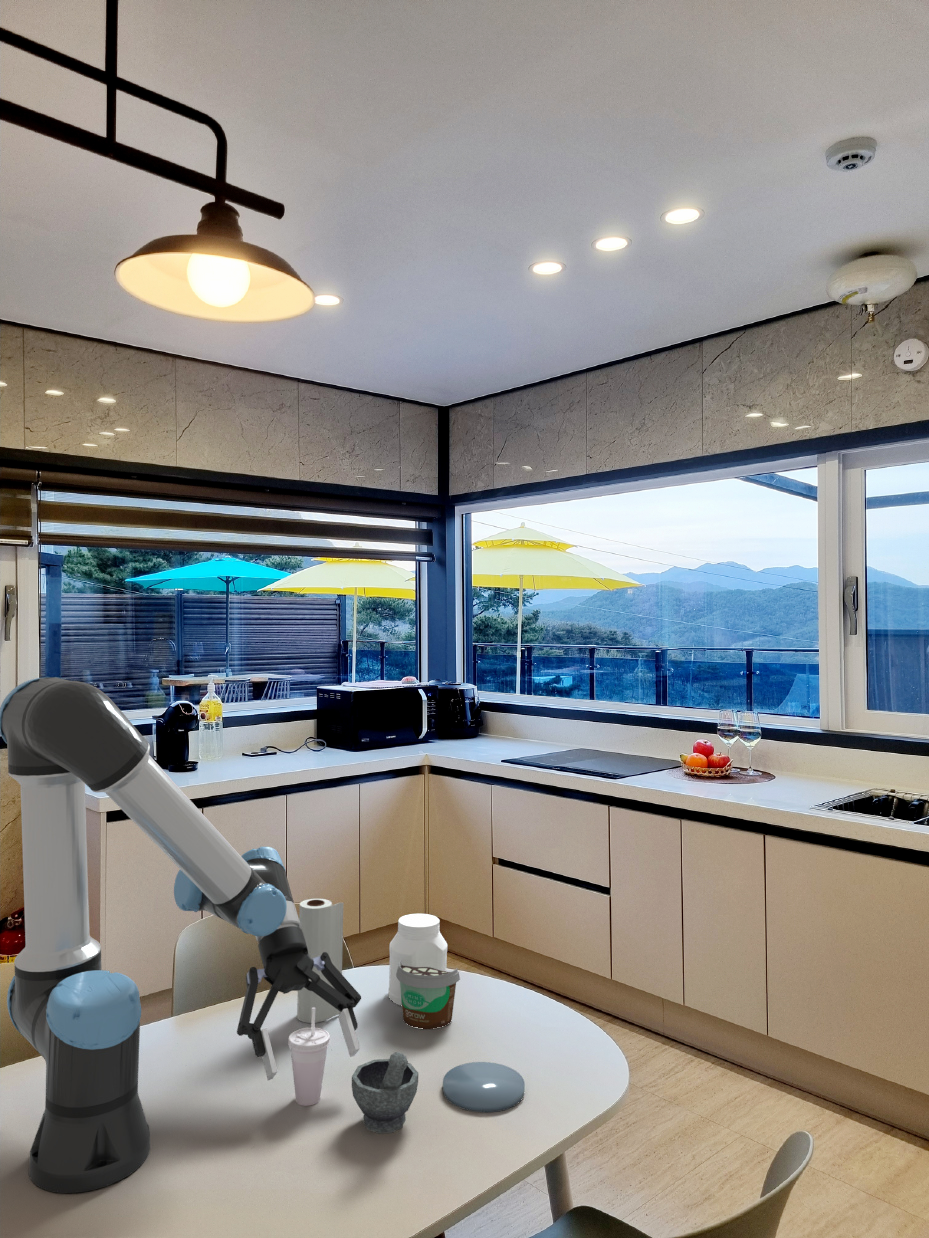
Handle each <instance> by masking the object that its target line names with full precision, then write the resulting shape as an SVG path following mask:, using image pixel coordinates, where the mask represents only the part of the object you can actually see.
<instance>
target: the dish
mask: <svg viewBox="0 0 929 1238" xmlns="http://www.w3.org/2000/svg"><path fill="white" fill-rule="evenodd" d="M525 1085H526V1084H525V1080H524V1077H523V1076H522V1075H521V1074H520V1073H519V1072H518V1071H517V1070H515V1069H513V1068H511V1067H509V1066H508V1065H504V1064H501V1063H497V1062H490V1061H475V1062H474V1061H473V1062H467V1063H463V1064H459V1065H456V1066H455V1067H453V1068H451V1069H449V1070H448V1071H447V1072H446V1073H445V1075H443V1078H442V1093H443V1096H444V1097H445V1098H446V1100H447V1101H448V1102H450V1103H451V1104H452V1105H454V1106H456V1107H458V1108H460V1109H462V1110H466V1111H470V1112H476V1113H495V1112H496V1113H497V1112H501V1111H505V1110H509V1109H511V1108H513V1107H515V1106H517V1105H518V1104H519V1103H520V1102H522V1100H523V1099H522V1098H524V1097H525V1093H524V1092H525V1090H526V1089H525ZM523 1096H524V1097H523ZM521 1099H522V1100H521ZM518 1102H519V1103H518ZM517 1103H518V1104H517ZM516 1104H517V1105H516ZM514 1105H515V1106H514Z"/></svg>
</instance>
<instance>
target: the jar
mask: <svg viewBox="0 0 929 1238" xmlns="http://www.w3.org/2000/svg"><path fill="white" fill-rule="evenodd" d="M397 922H398V923H397V925H398V926H397V932H396V934H395V935H394V937H393V938H392V939H391V941H390V942H389V946H388V947H389V972H388V973H389V976H388V977H389V982H388V994H387V995H388V998H390V999H389V1000H390V1001H391V1000H392V1001H393V1002H392V1001H391V1002H392V1003H393V1004H395V1003H396V1004H395V1005H397V1004H399V1005H398V1006H400V1005H402V1000H401V987H400V981H399V980H398V979H397V977H396V973H397V968H398V965H399V963H400V961H402V965H403V966H410V967H431V968H434V969H437V970H441V971H446V972H447V966H448V965H447V962H448V961H447V960H448V959H447V958H448V957H447V955H448V953H447V952H448V943H447V940H445V937H444V936H443V935H442V933H441V931H440V922H441V921H440V918H438V917H437V916H436V915H432V914H430V913H429V914H428V913H410V914H406V915H402V916H401V917H399V919H398V921H397Z"/></svg>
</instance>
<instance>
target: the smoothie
mask: <svg viewBox="0 0 929 1238" xmlns="http://www.w3.org/2000/svg"><path fill="white" fill-rule="evenodd" d="M330 1037H331V1036H330V1033H329V1032H328V1031H327V1030H326V1029H324V1028H320V1027H317V1026H316V1023H315V1007H313V1008H312V1016H311V1023H310V1027H309V1026H307V1027H302V1028H299V1029H296V1030H294V1031H293V1032H291V1033H290V1034H289V1036H288V1042H287V1044H288V1045H287V1046H288V1047H289V1048H290V1056H291V1064H292V1077H293V1087H294V1096H295V1102H296V1103H297V1104H298V1105H300V1106H305V1107H307V1106H312V1105H315V1104H317V1103H319V1101H320V1100H321V1094H322V1087H323V1086H322V1085H323V1080H324V1075H325V1073H324V1072H325V1066H326V1059H327V1052H328V1051H327V1050H328V1046H329V1045H330V1043H331V1039H330Z"/></svg>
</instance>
